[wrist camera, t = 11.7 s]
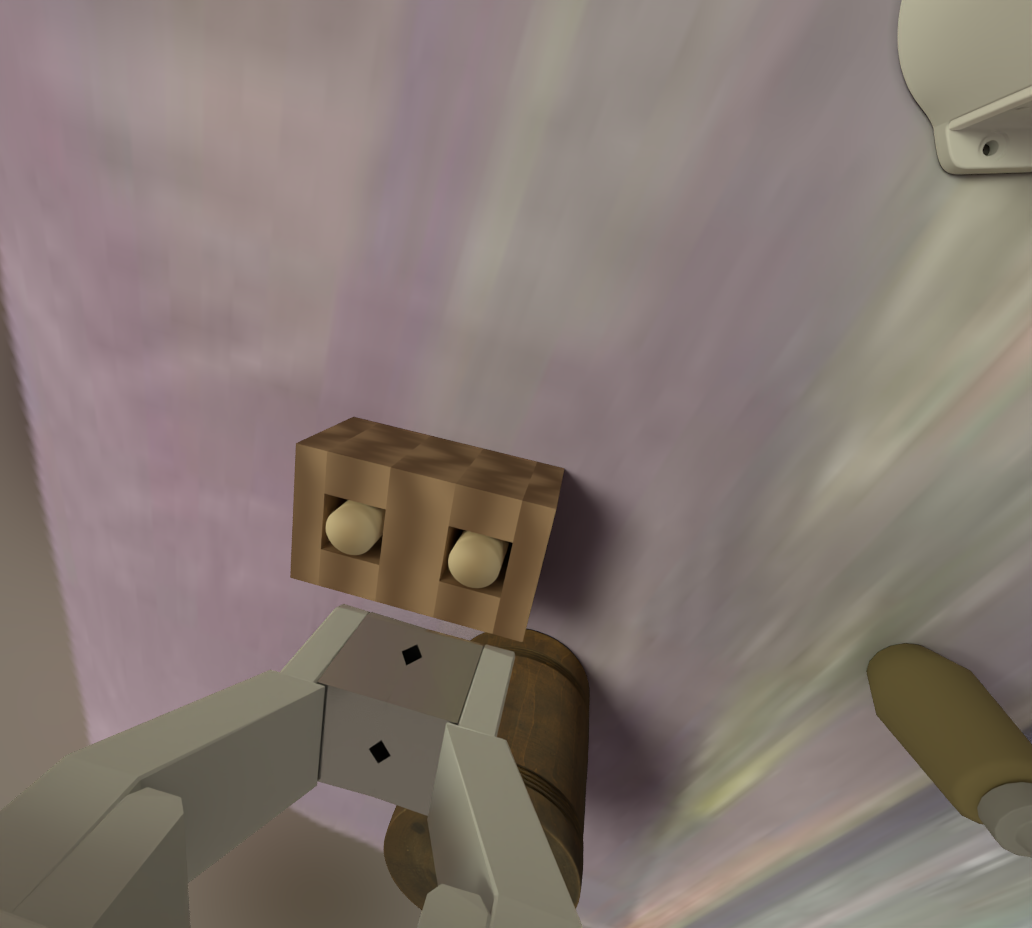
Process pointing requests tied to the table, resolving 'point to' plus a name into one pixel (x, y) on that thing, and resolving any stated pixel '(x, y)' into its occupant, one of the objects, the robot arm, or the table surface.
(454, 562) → the peg
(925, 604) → the table surface
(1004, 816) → the squeeze bottle
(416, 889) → the wooden container
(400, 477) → the socket block
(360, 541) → the peg
